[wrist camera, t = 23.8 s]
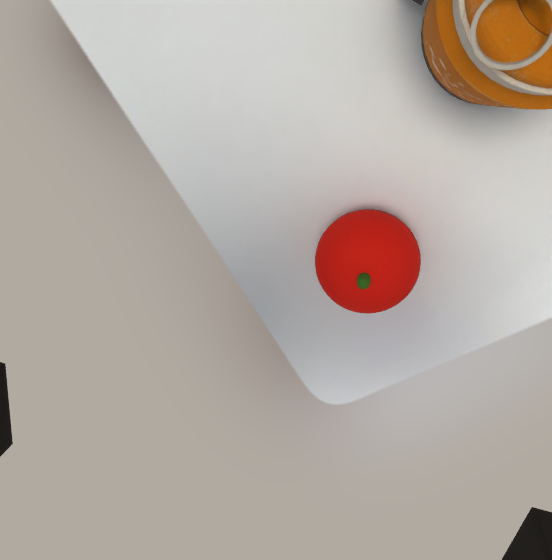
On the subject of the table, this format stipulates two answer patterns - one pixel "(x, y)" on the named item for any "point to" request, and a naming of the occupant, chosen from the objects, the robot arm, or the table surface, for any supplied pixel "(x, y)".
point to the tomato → (367, 261)
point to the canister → (491, 50)
